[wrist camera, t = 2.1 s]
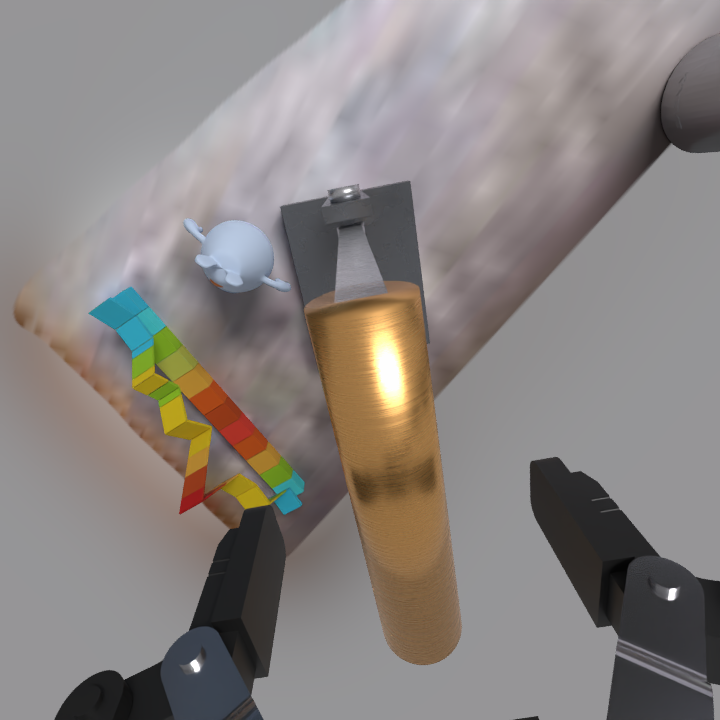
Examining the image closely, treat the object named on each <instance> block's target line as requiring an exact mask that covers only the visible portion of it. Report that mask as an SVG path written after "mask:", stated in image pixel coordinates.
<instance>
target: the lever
mask: <svg viewBox="0 0 720 720" xmlns="http://www.w3.org/2000/svg"><path fill="white" fill-rule="evenodd" d="M337 232H338V237H339V242H338V257H337V272H336V287H335V290H334V291H331V292H328V293H326V294H323V295H321V296H319V297H317V298H315V299H313V300H312V301H310V302H309V303H308V304H307V305H306V306H305V308H304V314H305V318H306V322H307V326H308V330H309V334H310V338H311V342H312V346H313V350H314V354H315V358H316V362H317V366H318V370H319V374H320V378H321V382H322V386H323V390H324V394H325V398H326V402H327V406H328V410H329V414H330V418H331V423H332V427H333V431H334V435H335V439H336V443H337V447H338V451H339V455H340V459H341V463H342V467H343V471H344V475H345V479H346V483H347V487H348V491H349V495H350V499H351V503H352V507H353V511H354V515H355V519H356V523H357V527H358V531H359V535H360V539H361V543H362V548H363V552H364V556H365V560H366V564H367V568H368V572H369V576H370V580H371V584H372V588H373V592H374V596H375V600H376V604H377V608H378V612H379V616H380V620H381V624H382V628H383V632H384V636H385V639H386V641H387V643H388V645H389V647H390V648H391V649H392V651H393V652H394V653H395V654H396V655H397V656H399V657H400V658H401V659H403V660H405V661H407V662H409V663H412V664H417V665H428V664H434V663H437V662H439V661H441V660H443V659H445V658H446V657H447V656H449V654H451V653H452V651H453V650H454V649H455V647H456V646H457V644H458V642H459V639H460V636H461V629H462V626H461V625H462V624H461V615H460V607H459V599H458V591H457V583H456V575H455V567H454V559H453V551H452V544H451V535H450V527H449V519H448V511H447V503H446V495H445V487H444V479H443V471H442V463H441V455H440V447H439V440H438V431H437V423H436V415H435V407H434V399H433V391H432V383H431V375H430V367H429V359H428V351H427V343H426V335H425V327H424V319H423V311H422V303H421V295H420V288H419V287H418V286H417V285H416V284H414V283H410V282H405V281H383V279H382V276H381V274H380V271H379V269H378V266H377V263H376V261H375V258H374V256H373V253H372V251H371V248H370V246H369V243H368V241H367V238H366V234H365V228H364V222H355V223H349V224H345V225H341V226H338V227H337Z"/></svg>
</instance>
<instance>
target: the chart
mask: <svg viewBox="0 0 720 720" xmlns="http://www.w3.org/2000/svg"><path fill="white" fill-rule="evenodd" d="M147 307H148V308H147ZM146 308H147V309H146ZM140 312H141V313H140ZM89 314H90V315H92V316H94V317H95V318H97V319H99V320H100V321H102V322H103V323H105V324H107V325H108V326H110V327H112V328H113V329H117V328H118V327H119V328H118V329H117V330H116V331H117V333H118V334H119V335H120V336H121V338H122V339H123V340H124V342H125V343H126V344H127V345H128V347H129V348H130V349H131V351H133V350H134V349H135V350H134V351H133V352H132V388H133V387H134V388H133V389H134V390H136V391H139V392H141V393H143V394H145V395H148V394H149V395H148V396H150V397H152V398H154V399H156V400H159V401H158V402H159V407H160V412H161V417H162V422H163V427H164V432H165V434H166V435H169V436H174V437H178V438H183V439H188V440H191V439H192V440H191V444H190V450H189V457H188V463H187V469H186V475H185V481H184V487H183V494H182V500H181V506H180V512H179V514H182V513H184V512H185V511H187V510H189V509H191V508H192V507H194V506H196V505H198V504H199V503H201V502H203V501H204V500H206V499H207V498H208V497H210V496H211V495H212V494H214V493H215V492H217V491H218V490H219V489H222V490H224V491H225V492H227V493H229V494H231V495H233V496H234V497H236V498H237V499H238V501H239V502H240V503H241V505H242V506H243V507H244V508H245V509H248V508H254V507H259V506H265V505H270V504H271V503H272V502H275V504H276V505H277V506H278V508H279V509H280V510H281V512H282V513H283V514H284V515H285V514H287V513H289V512H291V511H292V510H294V509H296V508H298V507H300V506H302V503H301V501H300V500H299V499H298V497H297V496H296V495H298V494H300V493H302V492H304V484H305V482H304V481H303V480H302V479H301V478H300V477H299V476H298V474H297V473H296V472H295V471H294V470H293V469H292V468H291V467H290V465H289V464H288V463H287V462H286V461H285V460H284V459H283V458H282V456H281V455H280V454H279V453H278V452H277V451H276V450H275V448H274V447H273V446H272V445H271V444H270V443H269V442H268V441H267V439H266V438H265V437H264V436H263V435H262V434H261V433H260V432H259V430H258V429H257V428H256V427H255V426H254V425H253V424H252V422H251V421H250V420H249V419H248V418H247V417H246V416H245V415H244V413H243V412H242V411H241V410H240V409H239V408H238V407H237V406H236V404H235V403H234V402H233V401H232V400H231V399H230V398H229V396H228V395H227V394H226V393H225V392H224V391H223V390H222V389H221V387H220V386H219V385H218V384H217V383H216V382H215V381H214V380H213V378H212V377H211V376H210V375H209V374H208V373H207V372H206V370H205V369H204V368H203V367H202V366H201V365H200V364H199V363H198V361H197V360H196V359H195V358H194V357H193V356H192V355H191V354H190V352H189V351H188V350H187V349H186V348H185V347H184V346H183V344H182V343H181V342H180V341H179V340H178V339H177V338H176V337H175V335H174V334H173V333H172V332H171V331H170V330H169V329H168V328H167V326H166V325H165V324H164V323H163V322H162V321H161V320H160V318H159V317H158V316H157V315H156V314H155V313H154V312H153V311H152V309H151V308H150V307H149V306H148V305H147V304H146V303H145V302H144V300H143V299H142V298H141V297H140V296H139V295H138V294H137V292H136V291H135V290H134V289H133V288H132V287H129V288H127V289H126V290H124V291H122V292H121V293H119V294H118V295H117V296H115V297H114V298H113V299H112V298H109V299H107V300H106V301H105V302H103V303H102V304H100V305H99V306H98V307H96V308H95V309H93V310H92V311H91V312H89ZM137 314H138V315H137ZM130 319H131V320H130ZM127 321H128V322H127ZM124 323H125V324H124ZM121 325H122V326H121ZM120 326H121V327H120ZM165 326H166V327H165ZM139 346H140V347H139ZM137 347H138V348H137ZM136 348H137V349H136ZM136 356H137V357H136ZM133 358H134V359H133ZM155 364H156V365H157V366H158V367H159V368H160V369H161V370H162V371H163V372H164V373H165V374H166V375H167V376H168V377H169V379H170V380H171V381H172V382H171V381H169V380H168V379H166V378H164V377H162V376H160V375H158V374H156V373H155ZM154 373H155V374H154ZM153 374H154V375H153ZM150 376H151V377H150ZM147 378H148V379H147ZM144 380H145V381H144ZM168 381H169V382H168ZM173 381H174V382H173ZM141 382H142V383H141ZM165 383H166V384H165ZM136 385H137V386H136ZM154 390H155V391H154ZM181 391H182V392H183V394H184V395H185V396H186V397H187V398H188V399H189V400H190V401H191V402H192V403H193V404H194V405H195V406H196V407H197V409H198V410H199V411H200V412H201V413H202V414H203V415H204V416H205V417H206V418H207V419H208V420H209V421H210V422H211V424H212V425H213V426H214V427H215V428H216V429H217V430H218V431H219V432H220V433H221V434H222V435H223V436H224V437H225V439H226V440H227V441H228V442H229V443H230V444H231V445H232V446H233V447H234V448H235V449H236V450H237V451H238V452H239V454H240V455H241V456H242V457H243V458H244V459H245V460H247V462H248V463H249V464H250V465H251V466H252V467H253V469H254V470H255V471H256V472H257V473H258V474H259V475H260V476H261V477H262V478H263V479H264V480H265V482H266V483H267V484H268V485H269V486H270V487H271V488H272V489H273V490H274V491H275V492H276V495H274V496H272V497H271V498H270V499H267V497H266V496H265V495H264V493H263V492H262V491H261V490H260V488H259V487H258V486H257V484H256V483H254V482H252V481H251V480H249V479H247V478H246V477H244V476H243V475H241V474H237V475H235V476H234V477H232V478H230V479H228V480H226V481H225V482H223V483H221V484H219V485H218V486H217V487H215V488H214V489H212V490H211V491H209V492H208V493H207V494H205V495H204V490H205V481H206V473H207V464H208V456H209V448H210V441H211V432H212V427H211V426H210V425H206V424H202V423H199V422H195V421H191V420H187V415H186V411H185V407H184V402H183V398H182V394H181ZM151 392H152V393H151ZM170 392H171V393H170ZM167 394H168V395H167ZM186 420H187V421H186Z"/></svg>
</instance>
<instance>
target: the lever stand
mask: <svg viewBox="0 0 720 720" xmlns="http://www.w3.org/2000/svg"><path fill="white" fill-rule="evenodd" d="M328 195H329V196H328V197H323V198H318V199H313V200H308V201H303V202H298V203H293V204H288V205H283V206H281V207H280V208H281V212H282V216H283V220H284V224H285V228H286V232H287V236H288V240H289V245H290V249H291V253H292V257H293V261H294V265H295V269H296V273H297V277H298V281H299V285H300V289H301V293H302V297H303V301H304V306H306V305H307V304H308V303H309V302H310V301H312V300H313V299H315V298H317V297H319V296H321V295H323V294H326V293H328V292H331V291H334V290H335V287H336V272H337V257H338V242H339V237H338V232H337V227H338V226H341V225H345V224H349V223H355V222H364V228H365V234H366V238H367V241H368V243H369V246H370V248H371V251H372V253H373V256H374V258H375V261H376V263H377V266H378V269H379V271H380V274H381V276H382V279H383V281H405V282H410V283H414V284H416V285H417V286H418V287H419V288H420V295H421V303H422V311H423V319H424V327H425V335H426V343H427V344H428V343H430V340H429V332H428V324H427V316H426V307H425V299H424V291H423V283H422V274H421V266H420V258H419V250H418V242H417V233H416V225H415V217H414V209H413V200H412V192H411V184H410V181H404V182H398V183H393V184H388V185H383V186H378V187H373V188H368V189H363V190H360V189H359V184H357V185H351V186H346V187H341V188H336V189H331V190H328Z"/></svg>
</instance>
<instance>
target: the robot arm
mask: <svg viewBox="0 0 720 720" xmlns="http://www.w3.org/2000/svg"><path fill="white" fill-rule="evenodd" d="M661 120H662V125H663V129H664V131H665V133H666V136H667V138H668V139H669V140H670V141H671V142H672V144H673V145H675V146H676V147H678V148H679V149H681V150H683V151H687V152H690V153H705V152H718V151H720V33H719V34H717V35H714V36H712V37H710V38H708V39H705V40H704V41H702V42H701V43H699V44H698V45H696V46H695V47H694V48H693V49H692V50H690V51H689V52H688V53H687V54H686V55H685V56H684V57H683V59H682V60H681V61H680V62H679V64H678V65H677V66H676V68H675V69H674V71H673V73H672V75H671V77H670V78H669V80H668V83H667V85H666V88H665V91H664V94H663V99H662V104H661ZM530 491H531V492H530V494H531V495H530V497H531V506H532V510H533V513H534V516H535V518H536V520H537V522H538V524H539V526H540V528H541V529H542V531H543V533H544V535H545V536H546V538H547V540H548V542H549V543H550V545H551V547H552V548H553V551H554V552H555V554H556V556H557V558H558V559H559V561H560V563H561V565H562V567H563V568H564V570H565V572H566V574H567V575H568V577H569V579H570V581H571V583H572V584H573V586H574V588H575V590H576V591H577V593H578V595H579V597H580V598H581V600H582V602H583V604H584V605H585V607H586V609H587V611H588V613H589V614H590V616H591V618H592V620H593V621H594V623H595V625H596V627H605V626H611V625H612V626H613V628H614V630H615V631H616V633H617V635H618V642H617V648H616V655H615V662H614V670H613V677H612V684H611V691H610V698H609V705H608V713H607V720H714V705H713V692H712V686H711V684H710V683H713V684H718V685H720V581H713V580H706V579H701V578H698V577H695V576H694V575H693V574H692V573H691V572H690V571H688V570H687V569H686V568H684V567H683V566H681V565H680V564H678V563H675V562H674V561H671V560H668V559H666V558H662V557H660V556H659V555H658V553H657V552H656V551H655V550H654V549H653V548H652V546H651V545H650V544H649V543H648V542H647V541H646V539H645V538H644V537H643V536H642V534H641V533H640V532H639V531H638V530H637V528H636V527H635V526H634V525H633V524H632V522H631V521H630V520H629V519H628V518H627V516H626V515H625V514H624V513H623V512H622V510H619V507H618V506H617V504H616V503H615V502H614V501H613V500H612V499H610V497H609V495H608V494H607V493H606V491H605V490H604V489H603V488H602V487H601V485H600V484H599V483H598V482H597V481H595V480H594V479H592V478H591V477H589V476H587V475H586V474H584V473H583V472H581V471H579V472H573V473H570V471H569V470H568V469H567V468H566V466H565V465H564V464H563V462H562V461H561V460H560V459H559V458H558V457H553V458H547V459H541V460H535V461H532V462H531V463H530ZM285 558H286V554H285V544H284V540H283V537H282V534H281V531H280V528H279V525H278V523H277V520H276V517H275V514H274V511H273V509H272V507H271V506H270V505H265V506H259V507H254V508H248V509H245V510H244V513H243V516H242V519H241V522H240V526H239V528H235V529H230V530H229V531H228V532H227V534H226V535H225V536H224V538H223V539H222V540H221V542H220V543H219V544H218V547H217V550H216V553H215V556H214V559H213V563H212V565H211V568H210V571H209V577H207V579H206V582H205V585H204V588H203V591H202V594H201V597H200V600H199V603H198V606H197V609H196V612H195V615H194V618H193V621H192V624H191V626H190V629H189V631H188V632H186V633H185V634H183V635H182V636H181V637H180V638H178V639H177V640H176V641H175V643H173V645H172V646H171V647H170V648H169V650H168V652H167V653H166V655H165V657H164V659H163V661H161V662H159V663H158V664H156V665H154V666H152V667H150V668H148V669H146V670H144V671H141V672H140V673H137V674H135V675H133V676H131V677H129V678H127V679H125V680H124V679H123V678H122V677H121V675H120V674H119V673H118V672H116V671H112V670H107V671H102V672H99V673H97V674H95V675H93V676H91V677H89V678H88V679H86V680H85V681H83V682H82V683H81V684H80V685H79V686H78V687H76V688H75V689H74V690H73V692H72V693H71V694H70V695H69V696H68V698H67V699H66V700H65V701H64V703H63V704H62V706H61V708H60V710H59V711H58V713H57V715H56V717H55V720H263V718H262V716H261V714H260V712H259V710H258V708H257V706H256V704H255V702H254V700H253V699H252V697H251V693H252V688H253V682H254V679H255V678H262V677H267V676H268V673H269V667H270V660H271V653H272V647H273V640H274V633H275V626H276V620H277V613H278V607H279V600H280V593H281V587H282V580H283V573H284V567H285ZM515 720H539V718H538V716H536V717H529V718H522V719H515Z"/></svg>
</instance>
